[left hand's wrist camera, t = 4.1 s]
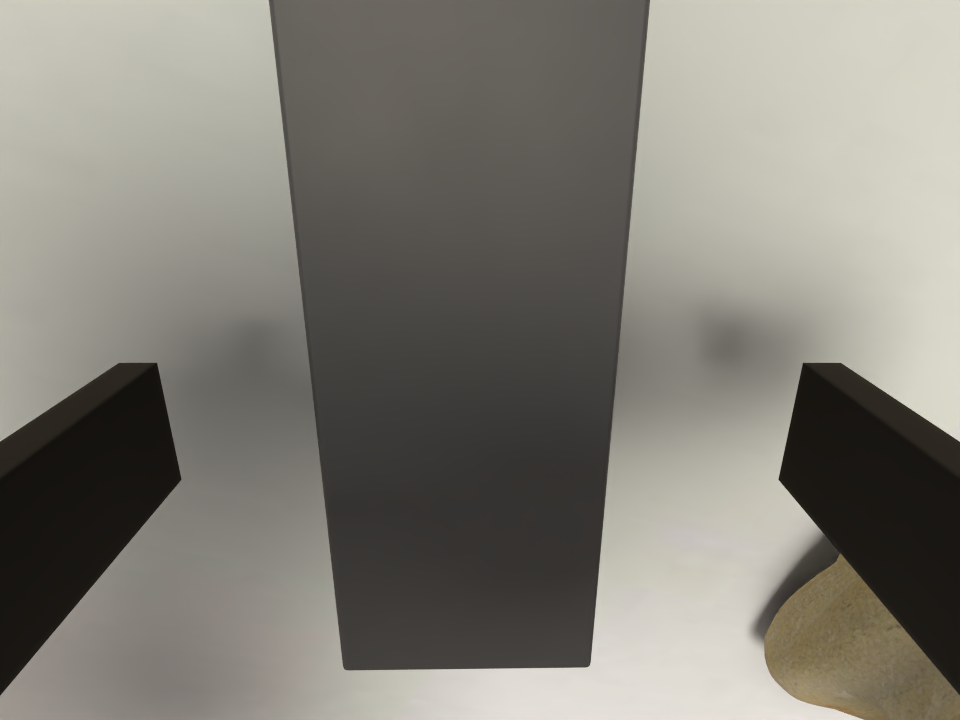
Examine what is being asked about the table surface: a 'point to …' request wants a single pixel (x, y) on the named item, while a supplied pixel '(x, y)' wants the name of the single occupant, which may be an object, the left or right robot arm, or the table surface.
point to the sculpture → (853, 653)
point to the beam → (462, 310)
